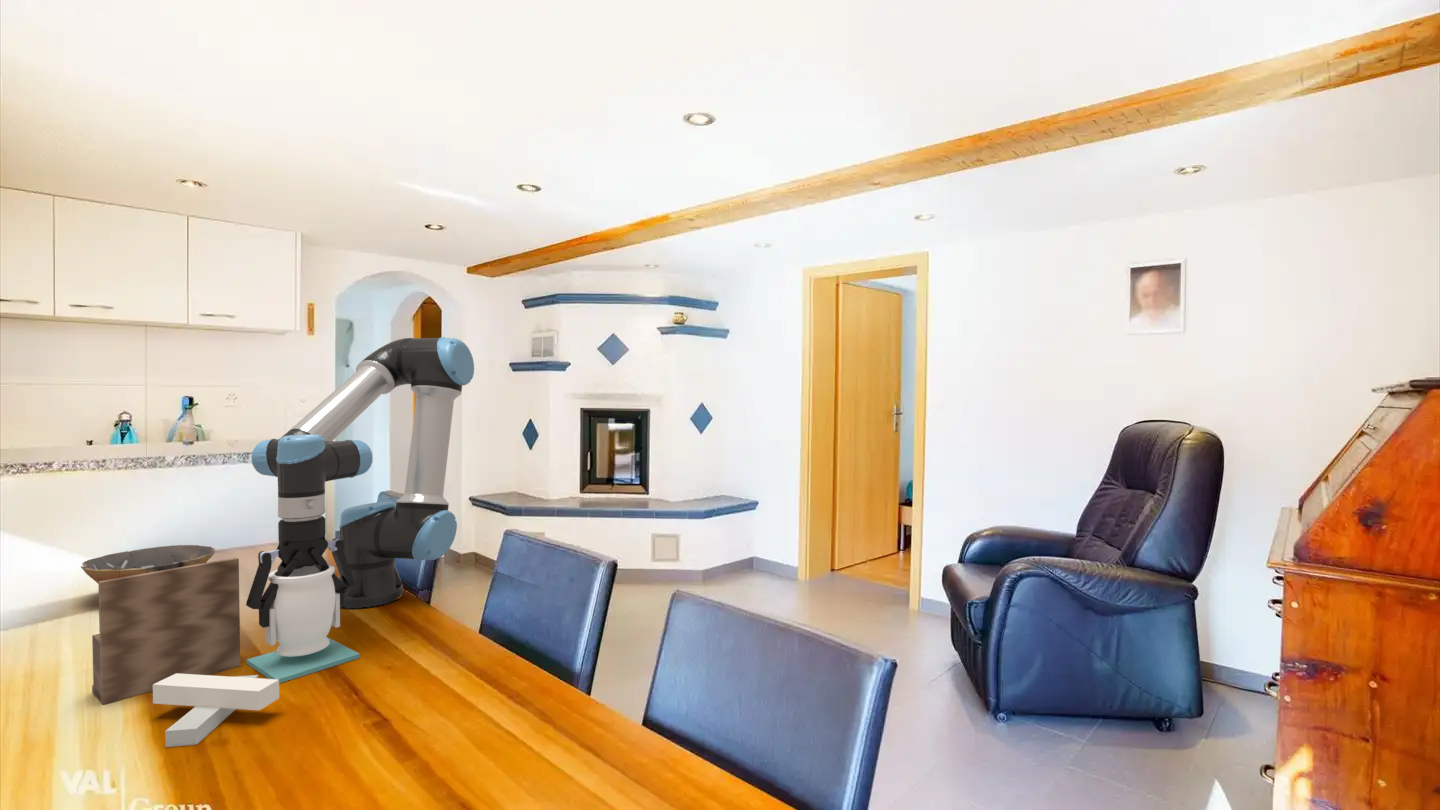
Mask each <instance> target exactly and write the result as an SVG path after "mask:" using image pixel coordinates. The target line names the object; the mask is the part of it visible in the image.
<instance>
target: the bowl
mask: <svg viewBox="0 0 1440 810" xmlns="http://www.w3.org/2000/svg"><path fill="white" fill-rule="evenodd" d="M215 553H216V549H215V548H214V547H212V546H205V545H197V544H178V545H166V546H165V545H164V546H163V545H162V546H154V547H147V548H141V549H134V550H130V551H129V550H126V551H122V552H114V553H110V554H105V555H103V556H100V557H99V556H98V557H95V558H91V559H88V560H86V561H83V562H82V565H81V566H80V568H81V570H82V571H83V572H84V573H85V574H86V575H87V577H90V579H91V580H93V581H94V582H96V584H98V581H104V580H110V579H116V578H121V577H127V576H133V575H139V574H144V573H150V572H156V571H162V570H167V569H173V568H179V567H185V566H190V565H196V564H202V563H208V561H209V560H210V559H211V558H212V557H213V555H214V554H215Z"/></svg>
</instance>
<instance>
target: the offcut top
mask: <svg viewBox="0 0 1440 810" xmlns="http://www.w3.org/2000/svg"><path fill="white" fill-rule="evenodd" d="M279 699H280V683H279V680H278V679H269V678H262V677H261V678H259V677H258V678H245V677H235V676H226V675H212V674H209V675H195V674H178V673H176V674H174V675H172V676H170V677H168V678H165V679H163V680H161V681H159V682H157V683H155V684H153V691H152V704H154V705H155V704H157V705H170V706H173V705H174V706H183V707H184V706H187V707H195V706H199V707H215V708H230V709H236V710H248V711H261V710H262V709H264V708H265V707H267V706H269V705H272V703H274V702H276V701H277V700H279Z"/></svg>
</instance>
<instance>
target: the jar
mask: <svg viewBox="0 0 1440 810" xmlns="http://www.w3.org/2000/svg"><path fill="white" fill-rule="evenodd" d="M327 564H328V566H329V569H327V570H325V571H323V572H320V571H319V569H318V568H317V567H316V566H315V565H314V566H305V567H302V568H299V569H294V570H293V572H292V573H291V574H290V575H289V576H288V577H280V576H276V575H275V574H276V572H277V570H278V569H276V570H273V571H270V573H269V576H268V580H269V582H272V583H274V584H278V590H277V594H276V598H275V600H274V602H273V604H272V605H271V608H274V609H275V618H276V642H277V643H278V647H277V648H276V650H275V651H276V652H277V654H278V655H280V656H285V657H296V656H303V655H308V654H312V653H315V652H318V651H321V650H323V649H325V648H326V647H327V646H328V645H329V643H330V641H329V639H328V638H329V637H328V635H329V633H330V630H331V628H332V620H333V613H334V608H335V587H334V582H333V579H332V574H333V573H335V571H336V569H335V566H334V565H333V564H329V563H327ZM327 637H328V638H327Z"/></svg>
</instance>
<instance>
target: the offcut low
mask: <svg viewBox="0 0 1440 810" xmlns="http://www.w3.org/2000/svg"><path fill="white" fill-rule="evenodd" d="M234 677H245V678H259V674H253V675H252V674H251V675H237V676H234ZM235 710H237V709H230V708H215V707H199V706H193V708H192V709H191V710H189V711H187V713H185V715H183V716H182V717H180V718H179V719H178V720H177V721H176V722H175V723H173V724H172V725H171V726H169V727H168V728H167V729H166V730H165V731H164V738H165V739H164V740H165V741H164V742H165V748H173V747H181V746H182V747H183V746H193V745H194V746H196V745H198V744H199V743H201V741H203V740H204V739H205V738H206V737H207V736H208V735H209V734H210V733H211V732H213V731H214V730H215V729H216V728H217V727H219V725H220V724H222V722H224V720H226V719H227V718H228V717H229V716H231V714H233V712H234V711H235Z"/></svg>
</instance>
